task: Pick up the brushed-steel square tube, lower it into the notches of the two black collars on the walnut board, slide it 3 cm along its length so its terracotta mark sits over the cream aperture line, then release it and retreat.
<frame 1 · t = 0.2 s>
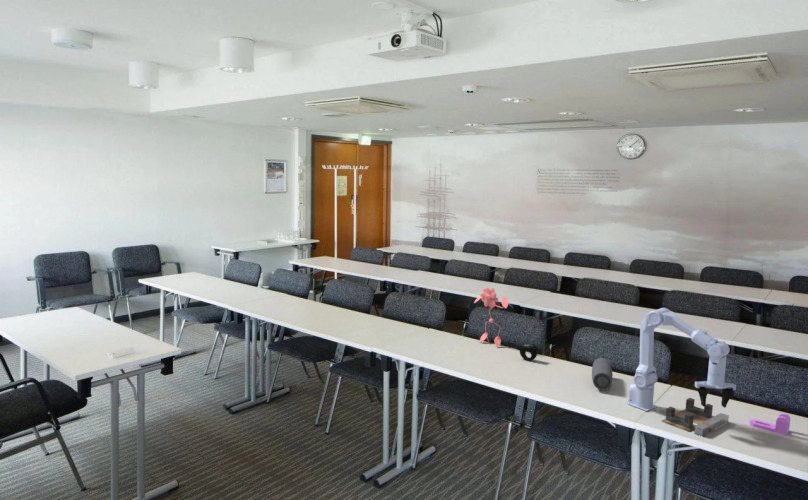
hand: (713, 406, 214), 10 cm above the table, fingers open, 7 cm apart
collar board: (688, 419, 224), on the table
bracket: (767, 428, 218), on the table
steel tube: (711, 428, 217), on the table
figurine: (486, 346, 319), on the table
bluetooth speaker: (601, 384, 262), on the table
controller: (526, 360, 295), on the table
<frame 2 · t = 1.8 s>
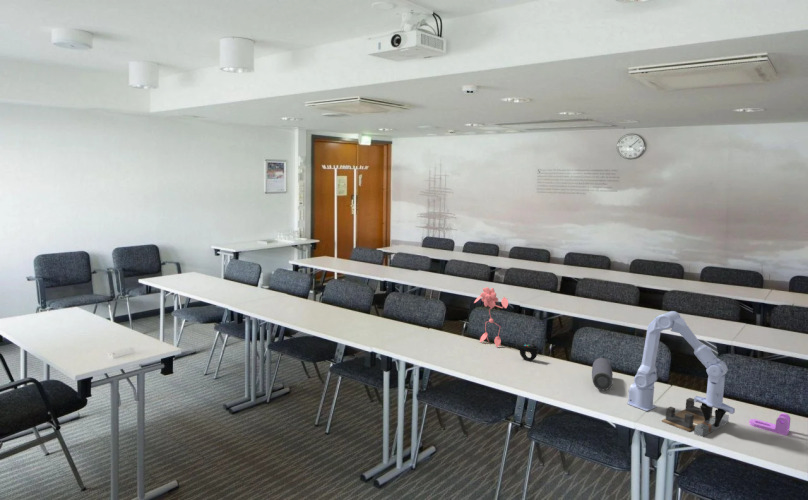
hand: (711, 424, 217), 1 cm above the table, fingers closed on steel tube, 3 cm apart
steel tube: (711, 427, 217), on the table, touching gripper
everything else where it was.
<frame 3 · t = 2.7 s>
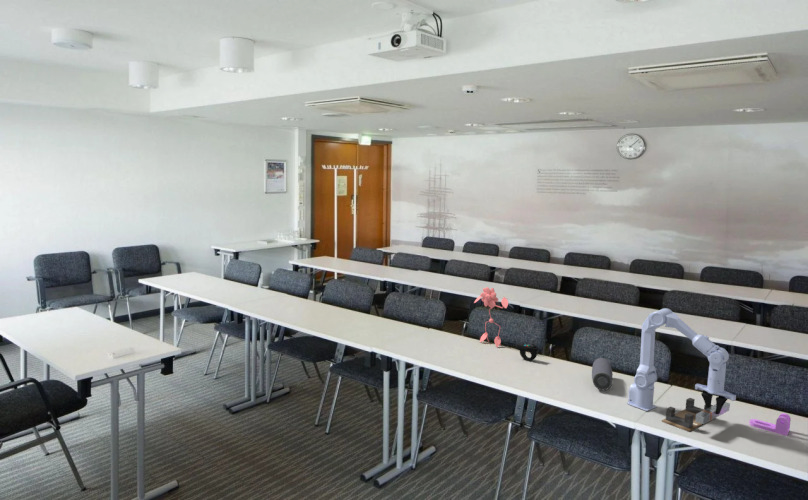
hand: (712, 412, 216), 7 cm above the table, fingers closed on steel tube, 3 cm apart
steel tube: (712, 415, 216), point 5 cm above the table, touching gripper
everything else where it was.
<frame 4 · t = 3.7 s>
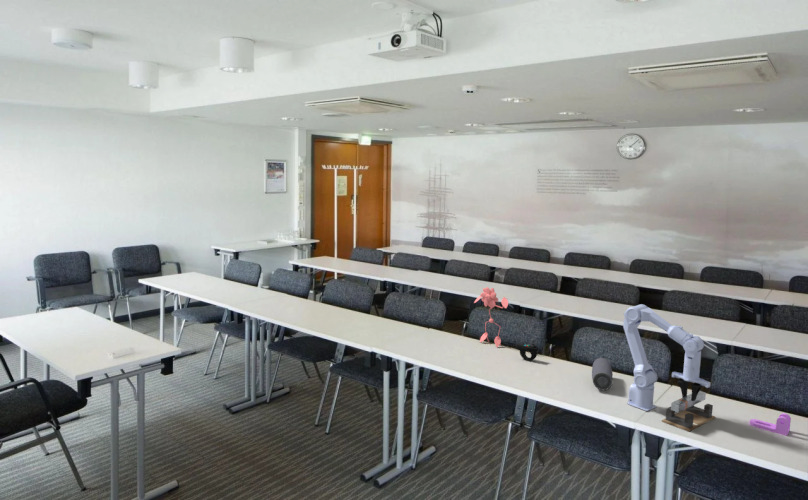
hand: (688, 398, 222), 9 cm above the table, fingers closed on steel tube, 3 cm apart
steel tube: (688, 404, 222), point 7 cm above the table, touching gripper
everything else where it was.
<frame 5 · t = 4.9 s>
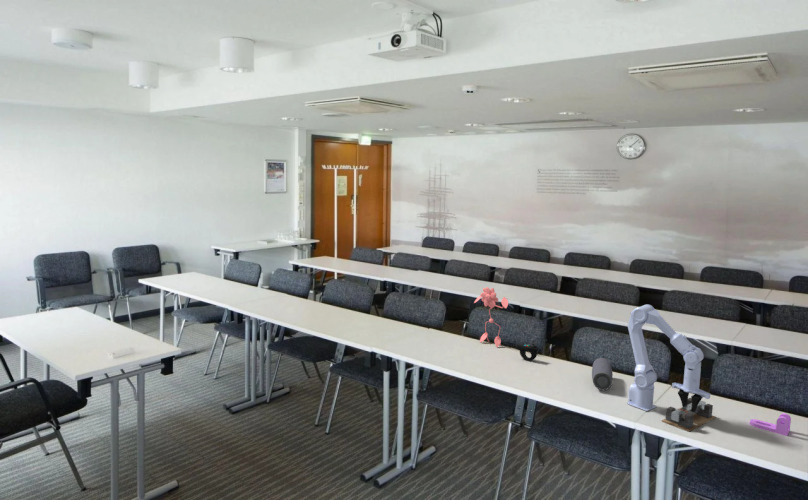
hand: (689, 409, 223), 4 cm above the table, fingers closed on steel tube, 3 cm apart
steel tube: (688, 414, 223), point 3 cm above the table, touching gripper
everything else where it was.
when the fingers open (4 cm above the table, at t = 5.6 s): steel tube stays where it is, resting on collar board.
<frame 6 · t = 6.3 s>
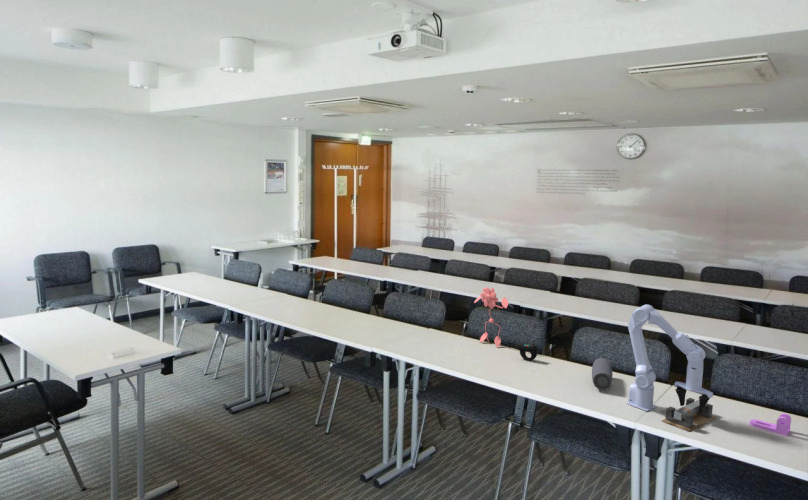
hand: (691, 408, 224), 4 cm above the table, fingers open, 7 cm apart
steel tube: (691, 412, 224), point 3 cm above the table, touching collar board
everything else where it was.
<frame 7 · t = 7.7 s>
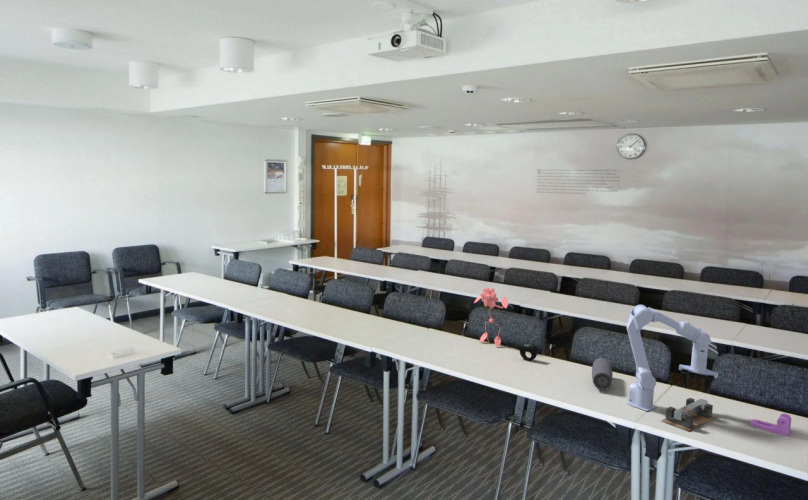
hand: (696, 389, 231), 9 cm above the table, fingers open, 7 cm apart
nothing on the table moved.
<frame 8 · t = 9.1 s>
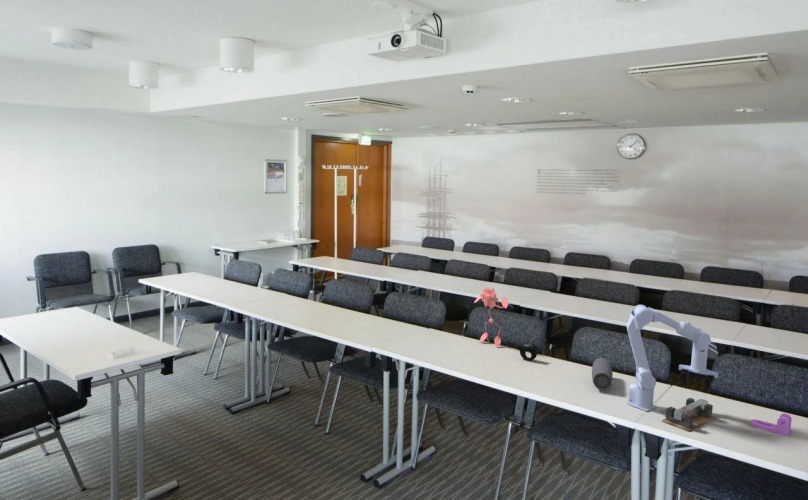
hand: (696, 389, 232), 9 cm above the table, fingers open, 7 cm apart
nothing on the table moved.
at the end: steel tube 0.1 cm from the target spot on the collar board, point 2.6 cm above the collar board's base; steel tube tilted 0°; the gripper is holding nothing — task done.
